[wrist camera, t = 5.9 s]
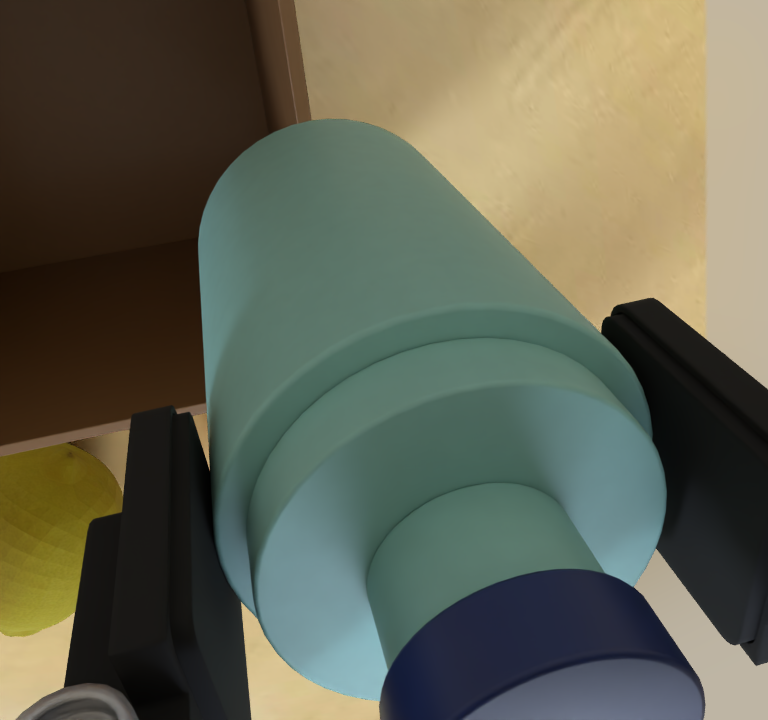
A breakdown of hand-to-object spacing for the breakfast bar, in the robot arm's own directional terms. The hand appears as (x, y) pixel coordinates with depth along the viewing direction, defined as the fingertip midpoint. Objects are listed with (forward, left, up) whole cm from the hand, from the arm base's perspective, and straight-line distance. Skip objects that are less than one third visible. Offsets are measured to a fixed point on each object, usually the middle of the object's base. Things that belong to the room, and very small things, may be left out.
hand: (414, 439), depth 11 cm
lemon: (+18, -15, -26) cm, 35 cm away
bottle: (0, 0, -7) cm, 7 cm away
